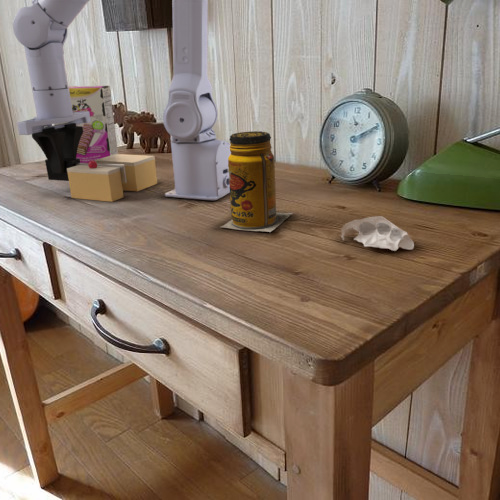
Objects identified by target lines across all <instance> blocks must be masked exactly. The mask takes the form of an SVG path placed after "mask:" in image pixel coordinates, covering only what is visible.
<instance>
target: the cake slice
mask: <svg viewBox="0 0 500 500" xmlns="http://www.w3.org/2000/svg"><path fill="white" fill-rule="evenodd" d="M67 172H68V178H69V181H68V184H69V190H70V197H71V199H81V200H87V201H89V200H90V201H100V202H108V203H109V202H111V203H113V202H115V201H118V200H120V199H122V198H124V190H123V189H122V181H121V173H120V167H106V166H97V163H96V162H95V161H93V160H92V161H90V162H89V163H88V165H77V166H74V167H70V168H67Z"/></svg>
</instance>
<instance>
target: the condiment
mask: <svg viewBox="0 0 500 500" xmlns="http://www.w3.org/2000/svg"><path fill="white" fill-rule="evenodd" d="M271 139H272V136H271V134H270V132H267V131H262V130H261V131H259V130H257V131H253V130H252V131H241V132H236V133H235V132H234V133H231V135H230V136H229V144H230V151H231V154H230V156H229V157H228V167H229V170H228V172H229V183H230V187H229V188H230V193H229V200H230V201H229V202H230V214H231V220H229V221H227V223H225V224H223V225H221V228H223V229H231V230H239V231H247V232H249V231H250V232H267V233H268V232H269V233H271V232H273V231H274V230H276V229H277V228H278V227H280V225H282V224H283V223H284V222H285V220H287V219H289V217H290V216H291V215H293V212H277V198H276V196H277V195H276V193H277V192H276V167H275V163H276V162H275V161H276V160H275V155H274V154H273V151H272V144H271Z"/></svg>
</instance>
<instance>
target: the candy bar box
mask: <svg viewBox="0 0 500 500" xmlns="http://www.w3.org/2000/svg"><path fill="white" fill-rule="evenodd" d="M68 86H69V87H68V88H69V92H70V99H71V105H72V111H73V112H80V111H89V113H90V120H91V122H90V123H81V124H76V126H82V127H83V134H82V136H81V138H80V141H79V145H78V149H77V156H76V159H80V163H89V162H90V161H92V160H93V161H94V160H97V159H101V158H104V157H107V156H111V155H114V154H119V149H118V141H117V134H116V125H115V117H114V109H113V99H112V92H111V86H110V85H108V84H107V85H68ZM51 94H52V93H51ZM65 123H69V122H65ZM58 124H64V123H57V124H53V125H58Z"/></svg>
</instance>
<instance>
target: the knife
mask: <svg viewBox="0 0 500 500" xmlns="http://www.w3.org/2000/svg"><path fill="white" fill-rule="evenodd" d="M64 162H65V173H53V171H52V169H51V166H50V164H49V162H48V160H47V158H45V160H44V163H45V167H46V173H47V178H48V181H49V180H50V181H60V182H61V181H64V182H69V178H68V172H67V168H70V167H74V166H77V165H88V163H80V159H75V158H64ZM97 166H106V167H120V173H121V181H122V183H127V180H126V173H125V166H124V165H121V164H98V163H97Z"/></svg>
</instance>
